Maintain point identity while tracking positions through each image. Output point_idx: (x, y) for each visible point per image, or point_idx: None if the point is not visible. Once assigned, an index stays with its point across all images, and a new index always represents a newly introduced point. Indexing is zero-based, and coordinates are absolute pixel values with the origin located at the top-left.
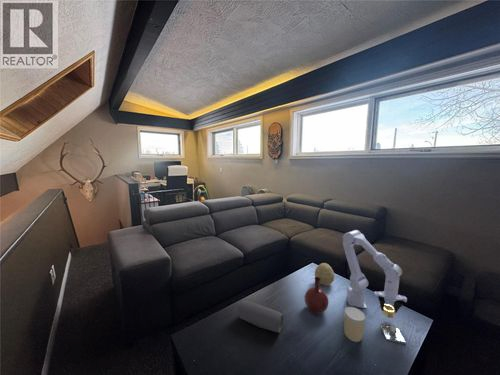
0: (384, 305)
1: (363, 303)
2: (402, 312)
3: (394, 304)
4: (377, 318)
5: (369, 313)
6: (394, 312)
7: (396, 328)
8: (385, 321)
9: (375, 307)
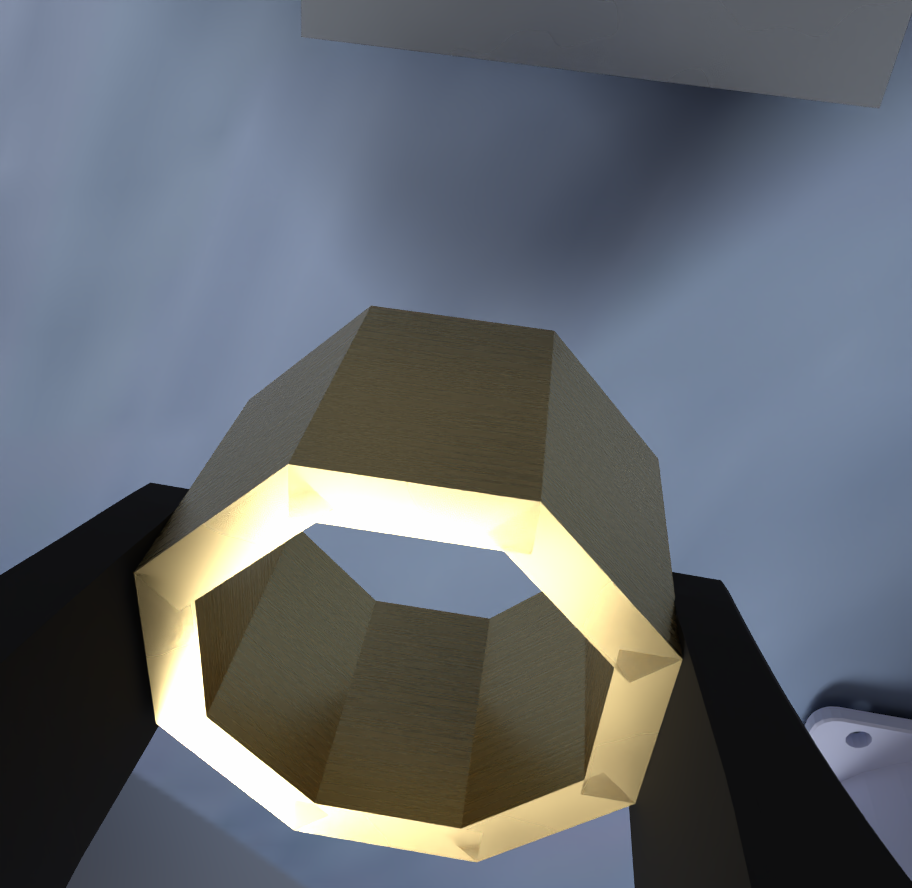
0: (513, 802)
1: (885, 828)
2: None
3: (51, 859)
4: (722, 421)
5: (847, 567)
6: (218, 483)
7: (361, 24)
8: None
9: None
